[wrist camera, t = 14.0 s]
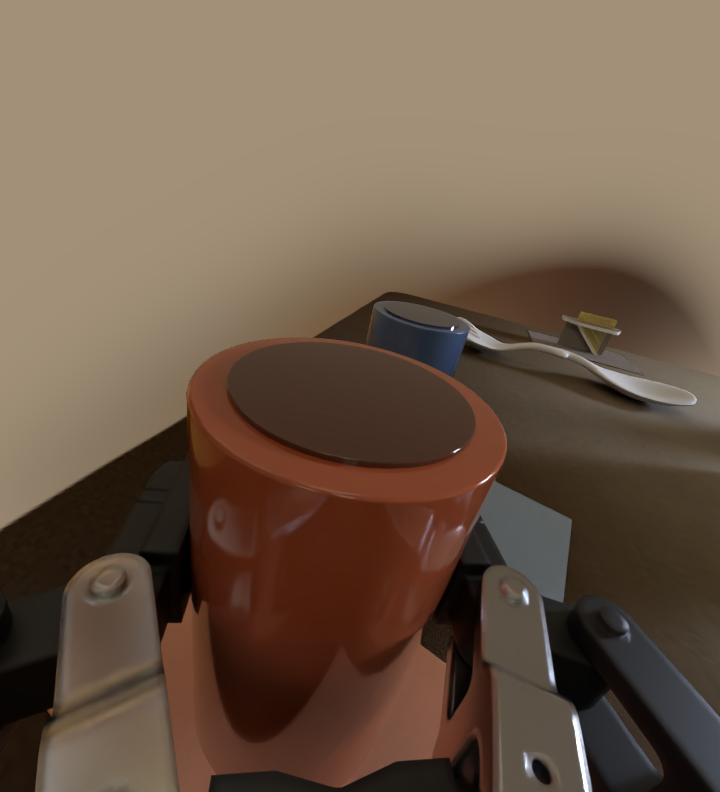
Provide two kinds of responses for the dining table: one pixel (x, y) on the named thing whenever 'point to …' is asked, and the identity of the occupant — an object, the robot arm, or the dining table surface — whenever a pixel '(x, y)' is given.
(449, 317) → the slate-blue cup
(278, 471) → the terracotta cup
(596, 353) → the platform
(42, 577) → the dining table surface
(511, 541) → the blue mat
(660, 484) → the dining table surface
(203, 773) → the terracotta mat
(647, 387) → the spoon
